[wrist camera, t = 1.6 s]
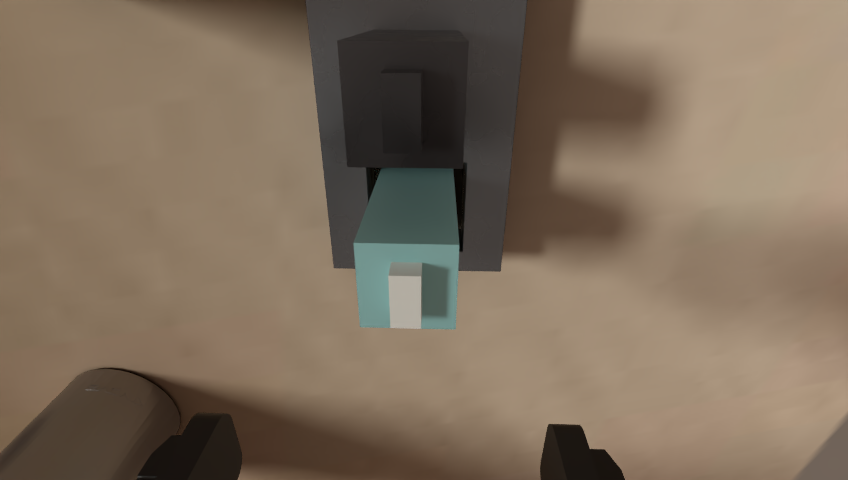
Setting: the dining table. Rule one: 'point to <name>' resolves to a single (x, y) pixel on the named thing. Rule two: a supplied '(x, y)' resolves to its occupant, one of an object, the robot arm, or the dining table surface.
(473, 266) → the gray slotted rack
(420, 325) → the plug
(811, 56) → the dining table surface
